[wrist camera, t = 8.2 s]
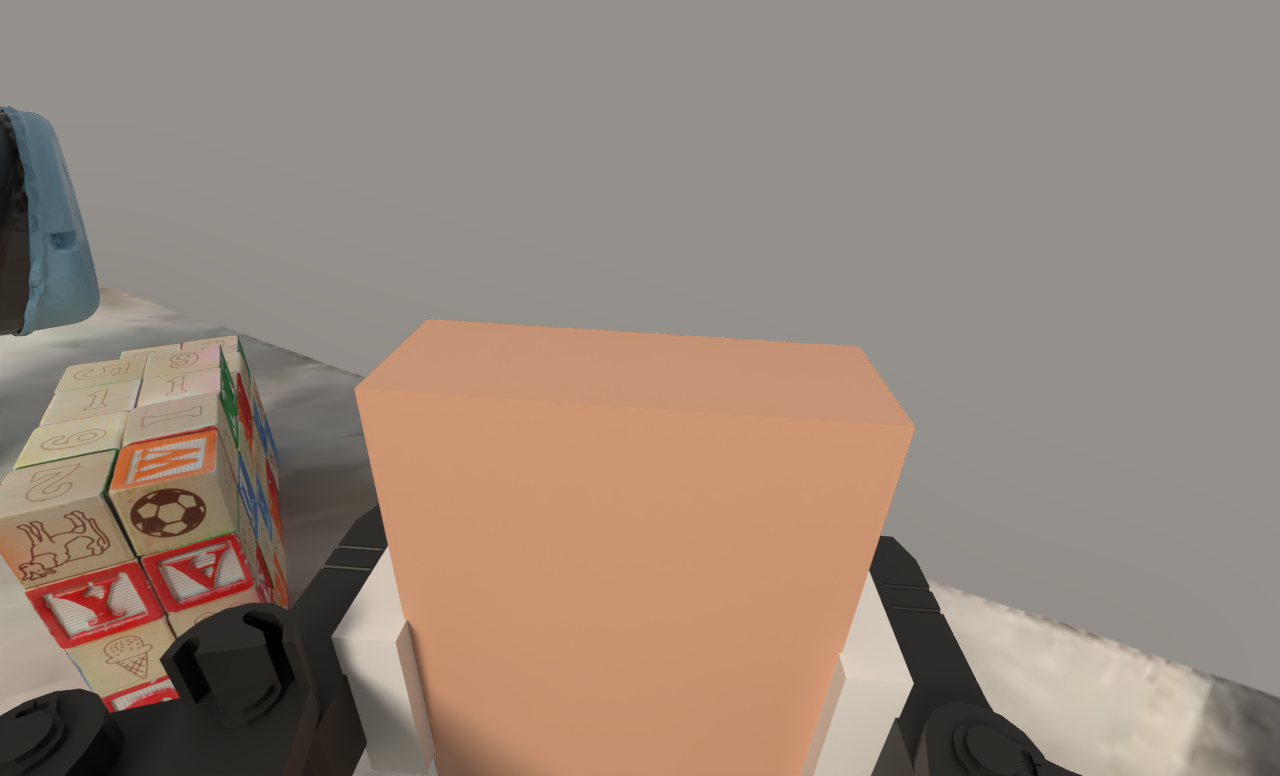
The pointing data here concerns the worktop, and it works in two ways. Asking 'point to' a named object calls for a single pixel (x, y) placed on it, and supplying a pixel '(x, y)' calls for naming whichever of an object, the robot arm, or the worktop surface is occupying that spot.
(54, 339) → the worktop surface
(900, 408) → the orange domino
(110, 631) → the stack of blocks
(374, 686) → the robot arm
